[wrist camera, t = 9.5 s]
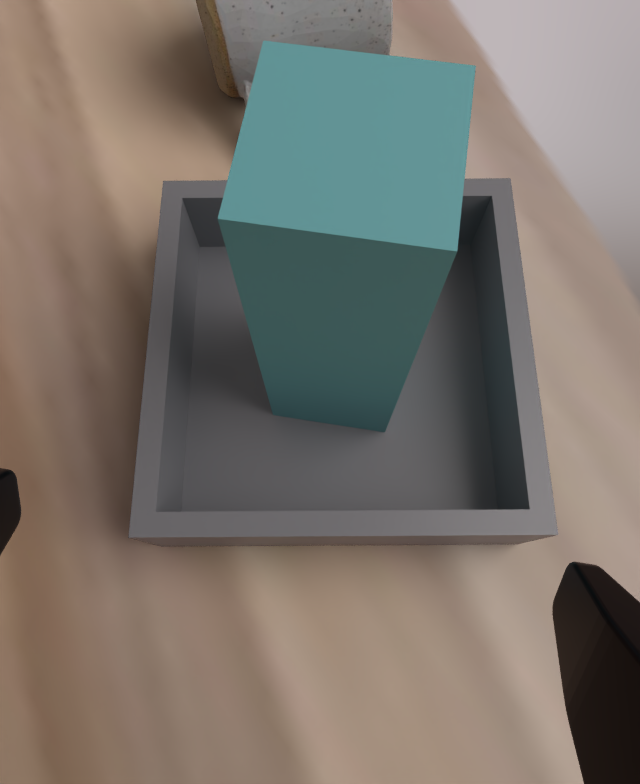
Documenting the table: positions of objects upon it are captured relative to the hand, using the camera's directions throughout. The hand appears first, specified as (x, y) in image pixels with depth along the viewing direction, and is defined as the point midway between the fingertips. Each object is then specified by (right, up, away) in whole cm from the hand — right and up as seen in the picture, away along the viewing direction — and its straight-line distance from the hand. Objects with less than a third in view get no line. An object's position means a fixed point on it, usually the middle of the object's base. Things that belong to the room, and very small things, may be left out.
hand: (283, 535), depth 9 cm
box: (+1, +3, +15) cm, 15 cm away
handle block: (+1, +3, +15) cm, 15 cm away
